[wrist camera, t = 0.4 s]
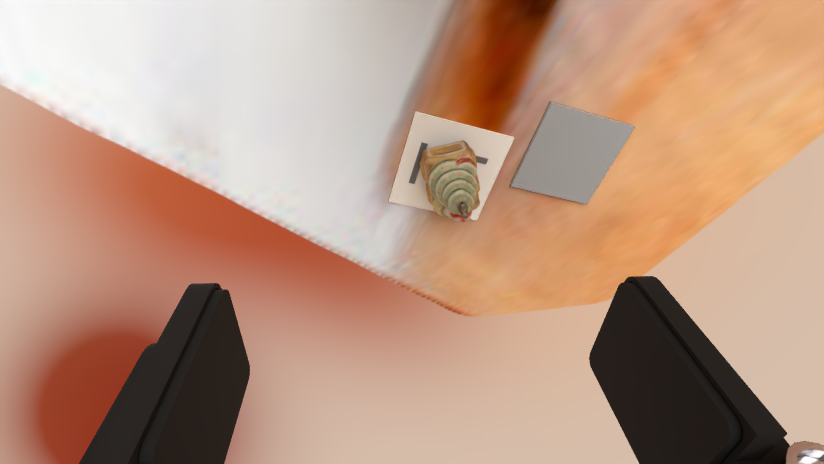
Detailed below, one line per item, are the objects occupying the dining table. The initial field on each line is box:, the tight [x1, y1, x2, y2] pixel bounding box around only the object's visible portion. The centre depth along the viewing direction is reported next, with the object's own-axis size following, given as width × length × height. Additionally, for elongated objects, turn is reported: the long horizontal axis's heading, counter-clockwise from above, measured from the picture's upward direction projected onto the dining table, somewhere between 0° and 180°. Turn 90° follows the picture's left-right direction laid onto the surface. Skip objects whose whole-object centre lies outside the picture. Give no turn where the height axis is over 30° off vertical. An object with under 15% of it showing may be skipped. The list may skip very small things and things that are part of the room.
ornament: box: [420, 141, 480, 222], centre depth 42 cm, size 8×6×10 cm
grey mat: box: [510, 102, 635, 204], centre depth 46 cm, size 10×10×1 cm
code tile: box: [388, 111, 514, 220], centre depth 46 cm, size 11×11×1 cm
